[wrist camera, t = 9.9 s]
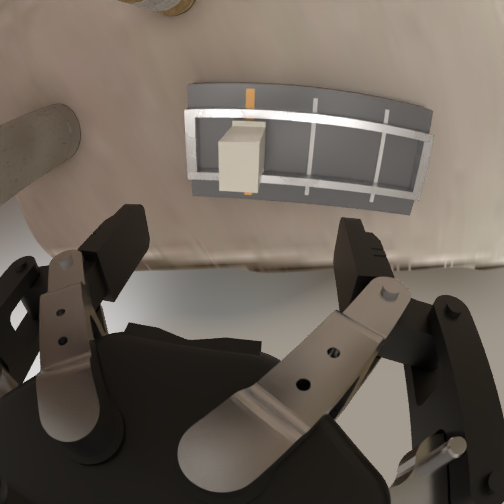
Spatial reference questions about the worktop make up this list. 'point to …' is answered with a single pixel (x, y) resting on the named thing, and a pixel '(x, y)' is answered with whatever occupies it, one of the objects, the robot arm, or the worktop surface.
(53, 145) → the thermos bottle
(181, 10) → the sprinkles bottle
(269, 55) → the worktop surface
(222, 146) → the block
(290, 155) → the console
